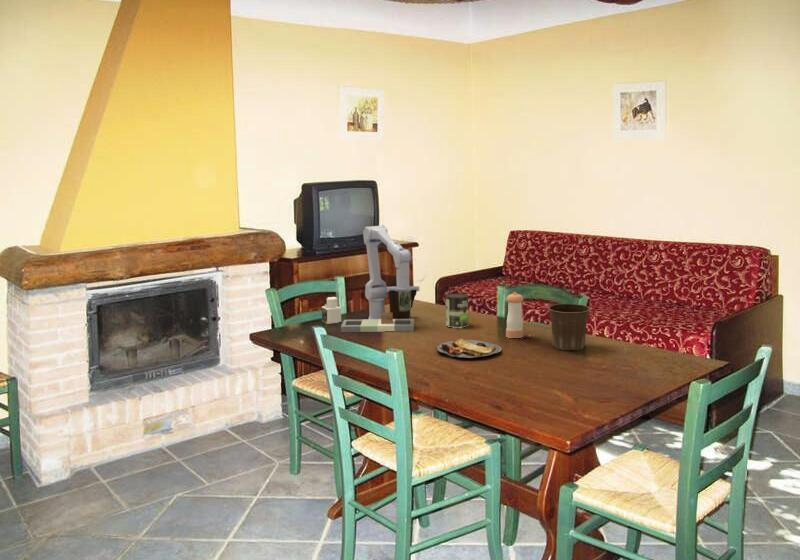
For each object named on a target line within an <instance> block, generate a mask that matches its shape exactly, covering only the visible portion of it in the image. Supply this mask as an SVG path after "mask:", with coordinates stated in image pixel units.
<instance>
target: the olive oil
mask: <svg viewBox="0 0 800 560" xmlns="http://www.w3.org/2000/svg"><path fill="white" fill-rule="evenodd" d="M393 286H397V279H396V274H395V275H394V276H393V277H392V278H391V279H390V280H389V283H388V286H387V287H393ZM409 286H412V285H411V281H409ZM395 294H396V308H394V303H393V300H392V297H391V295H390V291H389V292H388V299H389V313H393V319H409V318H410V319H411V310H412V308H411V291H395Z"/></svg>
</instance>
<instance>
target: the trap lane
mask: <svg viewBox="0 0 800 560" xmlns="http://www.w3.org/2000/svg"><path fill="white" fill-rule="evenodd" d="M385 331H394V332H414V331H415V319H414V318H410V319H393V323H392V324H381V319H365V318H364V319H361V318H360V319H344V320H343V321H342V322H341V326H340V332H341V333H374V332H375V333H377V332H378V333H381V332H383V333H384V332H385Z"/></svg>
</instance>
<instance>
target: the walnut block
mask: <svg viewBox="0 0 800 560" xmlns="http://www.w3.org/2000/svg"><path fill="white" fill-rule="evenodd" d="M392 323H393V313H390V312H385V313H381V324H392Z"/></svg>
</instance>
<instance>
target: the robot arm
mask: <svg viewBox="0 0 800 560" xmlns="http://www.w3.org/2000/svg"><path fill="white" fill-rule="evenodd" d="M362 231H363V232H362V234H363V243H364V245H365V246H366V254H367V264H368V271H369V272H368V273H369V274H368V275H369V281H367V282H366V284H365V290H364V296H365V298H366V299H367V301H368V304H369V305H368V307H369V316H368V319H381V313H386V311H385V308H386V307H385V300H387V298H388V297H389V291H390V295H391V297H392V300H393V303H394V308H396V294H395V291H411V301H410V307H411V309H412V308H413V304H414V300H415V298H416V295H417V292H420V286H417V285H411V286H409V282H410V263H411V261H412V259H413V257H412V253H411V251H410V249H406V248H404V247H403V246H402V245H401V243H399V242H398V240H393V239H392V237H391V236H390V234H389V233H388V228H387V227H386V226H385V225H384V224H383V225H373V226H372V225H371V226H365V227H364V229H363V230H362ZM381 243H383V244H384V245H385V246H386V249H387V251H388V252H389V253H390V254H391V256H392V257H393V262H394V267H395V275H396V279H397V286H393V287H388V286H387V283H386V282H385V280H383V279H382V275H381V266H380V259H379V257H380V256H379V249H378V248H379V247H378V246H379V244H381Z"/></svg>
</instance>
